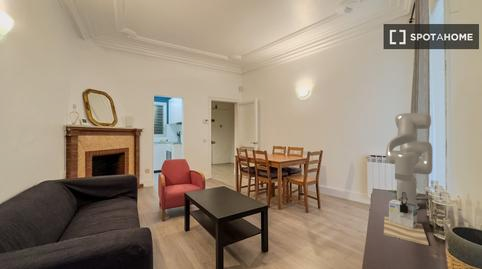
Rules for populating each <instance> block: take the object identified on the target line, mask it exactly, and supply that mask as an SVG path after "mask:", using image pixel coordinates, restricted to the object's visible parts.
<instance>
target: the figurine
mask: <svg viewBox="0 0 482 269" xmlns="http://www.w3.org/2000/svg"><path fill="white" fill-rule="evenodd" d="M387 191H388V192H389V193H390V192H391V193H394V194H395V199H397V189H394V190H391V189H388V190H387Z"/></svg>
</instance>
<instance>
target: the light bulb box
mask: <svg viewBox="0 0 482 269" xmlns="http://www.w3.org/2000/svg"><path fill="white" fill-rule="evenodd" d="M407 205H408V213H401V212H400V201H398V199H394V198H393V199H391V200H390V201H389V202H388V217H389V221H390V222H393V223H397V224H400V225H403V226H407V227H410V228H414V227H415V226H416V225H417V223H418V209H417V205H418V204H417V205H416V204H411V203H407Z"/></svg>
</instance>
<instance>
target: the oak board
mask: <svg viewBox="0 0 482 269" xmlns="http://www.w3.org/2000/svg"><path fill="white" fill-rule="evenodd" d="M383 220H384V221H383V236H386V237H392V238H395V237H396V239H399V238H400V240H404V241H408V242H412V243H417V244H420V245H421V244H422V245H426V246H429V242H428V241H429V240H428V239H427V234H426V232H425V230H424V226H423V224H422V223H418V222H417V225H416V226H415V227H414V228H410V227H407V226H403V225H400V224H397V223H393V222H390V221H389V216H384V218H383Z"/></svg>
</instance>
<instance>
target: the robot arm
mask: <svg viewBox="0 0 482 269" xmlns="http://www.w3.org/2000/svg"><path fill="white" fill-rule="evenodd" d="M394 120H395V124H396V127H397V136H395V137H393V139H391V140H390V141H389V142H388V143H387V146H386V150H385V160H386V162H387V163H389V164H390V165H391V164H392V165H394V179H395V180H396V190H397V198H396V200H398V201H400V212H401V213H408V205H407V203H411V204H416V205H417V210H419V209H420V206H419V204H422V203H423V201H422V200H421V199H417V186H418V185H417V183H418V182H417V181H418V180H417V179H416V177H415V176H414V174H418V175H419V174H421V175H430V174H431V173H432V172H433V145H432V144H431V142H429V141H424V140H422V141H421V140H419V141H418V139H417V137H418V133H417V130H418V129H419V130H424V129H426V130H427V129H429V128H430V127H431V124H432V116H431V114H430V113H428V112H412V113H411V112H407V113H405V112H404V113H400V114H397V115H395V119H394ZM397 147H399V150H395V148H397ZM420 157H421V158H420Z"/></svg>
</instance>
